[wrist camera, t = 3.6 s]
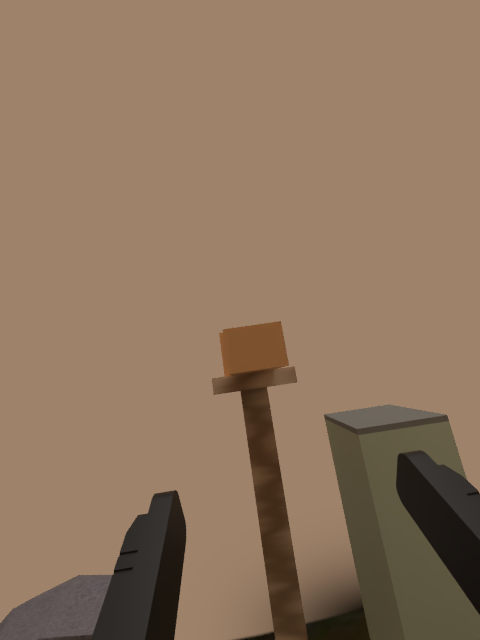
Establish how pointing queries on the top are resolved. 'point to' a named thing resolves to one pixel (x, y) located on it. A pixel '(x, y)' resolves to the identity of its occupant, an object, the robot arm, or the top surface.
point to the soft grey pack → (59, 611)
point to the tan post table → (270, 497)
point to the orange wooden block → (253, 349)
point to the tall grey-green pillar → (396, 525)
